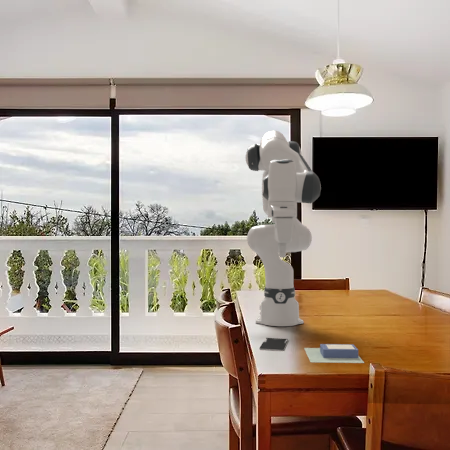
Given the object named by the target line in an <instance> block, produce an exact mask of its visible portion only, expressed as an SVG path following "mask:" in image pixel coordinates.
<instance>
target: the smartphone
mask: <svg viewBox="0 0 450 450" xmlns="http://www.w3.org/2000/svg"><path fill="white" fill-rule="evenodd" d="M288 342H289V338H285V337H284V338H283V337H265V338H264V340H263V341H262V343H261V345H260V346H259V350H260V351H273V352H275V351H276V352H284V351H285V348H286V347H287V344H288Z"/></svg>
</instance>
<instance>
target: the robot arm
mask: <svg viewBox="0 0 450 450" xmlns="http://www.w3.org/2000/svg"><path fill="white" fill-rule="evenodd" d="M245 162H246V165H247V167H248V169H250V171H254V172H259V171H263V172H262V179H261V195H262V196H261V197H262V209H263V212H264V213H265V215H267V217H268V218H271V223H272V224H260V225H255V226H252V227H251V228H250V229H249V230H248V232H247V236H246V241H247V245H248V247H249V249H250V250H251V251H253V252H254V253H255V254H256V255H257V256H258V257H259V258H260V260H261V262H262V265H263V268H264V275H265V276H264V277H265V278H264V279H265V280H264V281H265V286H264V291H263V293H264V294H263V295H264V298H263V299H262V301H260V303H259V316H258V318H257V319H255V323H256V324H261V325H264V326H265V325H266V326H270V327H271V326H272V327H291V326H292V327H293V326H296V325H301V324H302V325H303V324H304V320H303V319H302V318H300V305H299V302H298V301H297V300H296V298H295V295H296V290H295V289H296V288H295V287H294V282H295V281H294V277H295V276H294V268H293V266H292V265H291V264H290V263H288V262H286V261H284V260H283V259H281V258H286V256H287V255H286V254H287V253H297V252H303V251H307V250H308V249H309V248H310V246H311V245H312V238H313V237H312V233H311V230H310V229H309V228H308V227H307V226H306V225H304V224H303V223H302V222H301V221H300V220H299V219H298V203H302V204H312V203H314V202H315V201H316V200H318V198H319V197H320V196H321V190H322V187H321V186H322V185H321V181H320V178H319V176H318V175H317V174H316V173H315V172H314V171H313V170H312V169H311V167H310V166H309V164H308V162H307V161H306V159H305V158H304V156H303V154H302V150H301V147H300V144H299V143H298V142H297V141H293V140H292V141H291V140H287V139H286V137H285V135H284V134H283V133H281V132H280V131H279V130H270V131H267V132H265V133H264V134H263V136H262V138H261V140H260V143H254V144H252V145H250V146H248V148H247V150H246V153H245Z"/></svg>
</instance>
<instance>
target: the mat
mask: <svg viewBox="0 0 450 450" xmlns="http://www.w3.org/2000/svg"><path fill="white" fill-rule="evenodd" d="M303 349H304V351H305V354H306V356H307V357H308V360H309V362H310V363H325V364H326V363H327V364H329V363H331V364H332V363H334V364H335V363H336V364H337V363H338V364H344V363H345V364H365V362H364V360H363V359H362V358H361V357H360V355H358V358H323V356H322V354H321V353H320V347H304V348H303Z"/></svg>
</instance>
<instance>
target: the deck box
mask: <svg viewBox="0 0 450 450" xmlns="http://www.w3.org/2000/svg"><path fill="white" fill-rule="evenodd" d="M319 348H320V353H321V354H322V356H323V358H358V356H359V349H358V348H357V347H356V345H355V344H354V343H353V344H352V343H351V344H348V343H345V344H344V343H342V344H341V343H320V344H319Z"/></svg>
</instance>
